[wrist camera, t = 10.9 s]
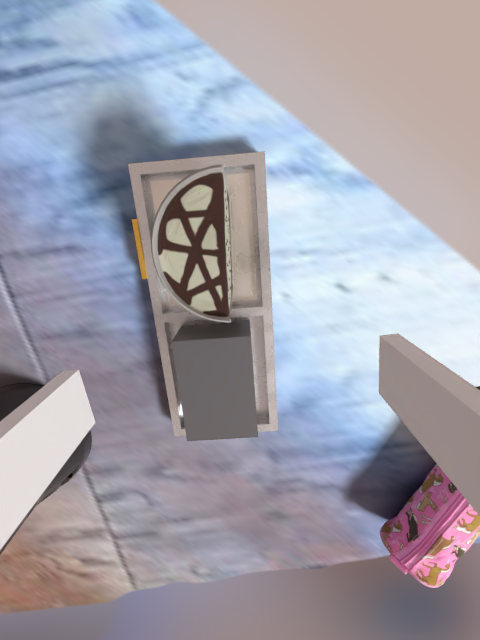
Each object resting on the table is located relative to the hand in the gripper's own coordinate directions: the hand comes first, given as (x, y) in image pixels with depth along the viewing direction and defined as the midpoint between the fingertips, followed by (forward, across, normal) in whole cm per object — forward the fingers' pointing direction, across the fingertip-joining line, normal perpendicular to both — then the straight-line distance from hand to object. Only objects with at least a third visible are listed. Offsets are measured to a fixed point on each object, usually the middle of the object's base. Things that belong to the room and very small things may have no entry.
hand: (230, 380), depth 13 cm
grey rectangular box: (+21, -3, -10) cm, 24 cm away
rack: (+22, -3, -2) cm, 23 cm away
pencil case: (+23, +24, -30) cm, 45 cm away
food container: (+21, -3, +5) cm, 22 cm away
